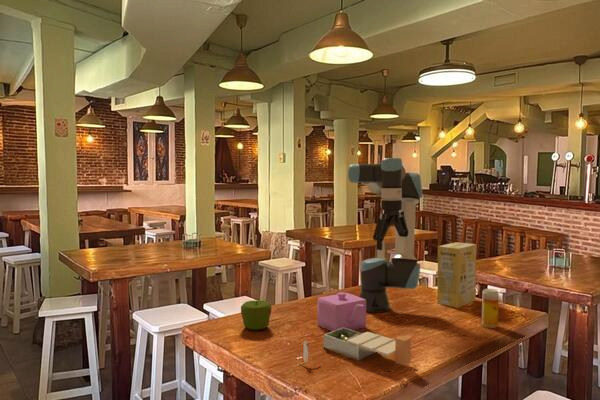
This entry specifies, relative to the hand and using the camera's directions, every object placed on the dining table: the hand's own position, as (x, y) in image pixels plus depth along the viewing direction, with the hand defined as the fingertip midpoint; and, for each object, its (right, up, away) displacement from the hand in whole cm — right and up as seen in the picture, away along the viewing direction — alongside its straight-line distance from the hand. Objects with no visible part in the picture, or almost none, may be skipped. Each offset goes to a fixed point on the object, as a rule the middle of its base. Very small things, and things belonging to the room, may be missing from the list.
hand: (391, 256), depth 166 cm
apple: (-52, -32, +15) cm, 63 cm away
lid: (-7, -31, -18) cm, 36 cm away
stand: (-31, -34, -20) cm, 50 cm away
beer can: (+44, -31, +16) cm, 56 cm away
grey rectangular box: (-16, -33, -8) cm, 37 cm away
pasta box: (+43, -29, +52) cm, 73 cm away
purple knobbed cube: (-16, -32, +16) cm, 39 cm away
